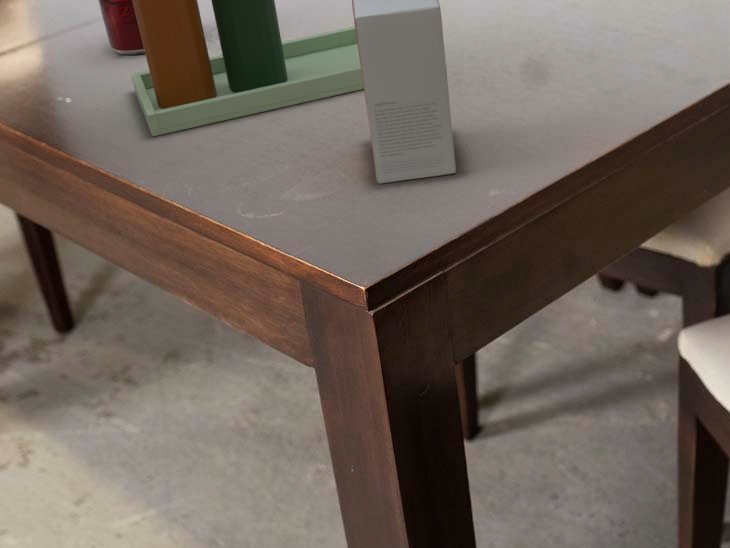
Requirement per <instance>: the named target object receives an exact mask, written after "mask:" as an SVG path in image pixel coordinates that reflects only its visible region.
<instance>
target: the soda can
mask: <svg viewBox="0 0 730 548" xmlns="http://www.w3.org/2000/svg"><path fill="white" fill-rule="evenodd" d="M97 1H98V2H97V3H98V5H99V7H100V8H99V9H100V12H101V17H102V20H103V23H104V24H103V25H104V28H105V32H106V36H107V39H108V45H109V46H110V48H111V49H112V50H113V51H115V52H116V53H118V54H121V55H129V56H131V55H132V56H133V55H141V54H145V51H144V46H143V42H142V38H141V34H140V30H139V26H138V22H137V18H136V14H135V9H134V5H133V1H132V0H97Z"/></svg>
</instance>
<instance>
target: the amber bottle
mask: <svg viewBox="0 0 730 548" xmlns="http://www.w3.org/2000/svg"><path fill="white" fill-rule="evenodd" d="M132 1H133V5H134V9H135V14H136V18H137V22H138V26H139V30H140V34H141V38H142V42H143V46H144V51H145V53H144V55H145V58H146V62H147V68H148V71H150V75H151V79H152V83H153V87H154V92H155V96H156V100H157V104H158V106H159V108H162V109H167V108H171V107H176V106H180V105H185V104H189V103H194V102H198V101H203V100H207V99H212V98H215V97H216V95H217V93H216V88H215V83H214V78H213V74H212V69H211V64H210V59H209V58H210V55H209V50H208V46H207V41H206V35H205V31H204V26H203V22H202V18H201V12H200V7H199V3H198V0H132Z"/></svg>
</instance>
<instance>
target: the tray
mask: <svg viewBox="0 0 730 548" xmlns="http://www.w3.org/2000/svg"><path fill="white" fill-rule="evenodd" d="M281 42H282V48H283V54H284V60H285V65H286V71H287V77H288V80H287V82H284V83H279V84H275V85H270V86H266V87H261V88H257V89H252V90H248V91H243V92H239V93H234V92H232V91H231V90H230V88H229V84H228V80H227V75H226V70H225V65H224V60H223V55H222V54H220V55H215V56H209V59H210V64H211V69H212V74H213V78H214V83H215V88H216V93H217V95H216V97H215V98H212V99H207V100H203V101H198V102H194V103H189V104H185V105H180V106H176V107H171V108H167V109H162V108H159V106H158V104H157V100H156V96H155V92H154V87H153V83H152V79H151V75H150V71H149V70H145V71H141V72H136V73H131V74H130V76H131V80H132V85H133V87H134V91H135V95H136V97H137V98H136V99H137V100H138V103H139V105H140V109H141V111H142V113H143V115H144V118H145V121H146V124H147V127H148V128H149V131H150V134H151V136H152V137H157V136H161V135H166V134H170V133H175V132H180V131H183V130H188V129H192V128H193V129H194V128H197V127H202V126H205V125H210V124H214V123H218V122H224V121H228V120H232V119H236V118H241V117H245V116H250V115H254V114H260V113H263V112H268V111H272V110H277V109H281V108H285V107H290V106H295V105H298V104H303V103H307V102H308V103H309V102H312V101H317V100H321V99H325V98H330V97H334V96H339V95H343V94H347V93H352V92H357V91H360V90H364V86H363V78H362V72H361V65H360V58H359V51H358V44H357V37H356V30H355V25H354V26H350V27H346V28H341V29H336V30H332V31H327V32H323V33H318V34H317V33H316V34H312V35H308V36H304V37H299V38H294V39H289V40H286V41H285V40H284V41H281Z"/></svg>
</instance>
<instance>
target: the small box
mask: <svg viewBox="0 0 730 548" xmlns="http://www.w3.org/2000/svg"><path fill="white" fill-rule="evenodd" d="M351 5H352V14H353V15H352V16H353V22H354V26H355V30H356V37H357V44H358V51H359V58H360V65H361V72H362V78H363V86H364V89H363V92H364V99H365V106H366V114H367V121H368V128H369V134H370V141H371V147H372V154H373V161H374V170H375V171H374V172H375V177H376V178H375V179H376V182H377V183H378V184H380V185H381V184H386V183H387V184H388V183H394V182H400V181H408V180H415V179H416V180H417V179H423V178H431V177H440V176H445V175H452V174H455V173H457V172H456V171H457V167H456V158H455V148H454V147H455V146H454V137H453V127H452V116H451V115H452V114H451V107H450V105H451V104H450V91H449V83H448V72H447V63H446V53H445V52H446V51H445V42H444V40H445V39H444V31H443V19H442V9H441V5H440V0H351Z"/></svg>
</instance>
